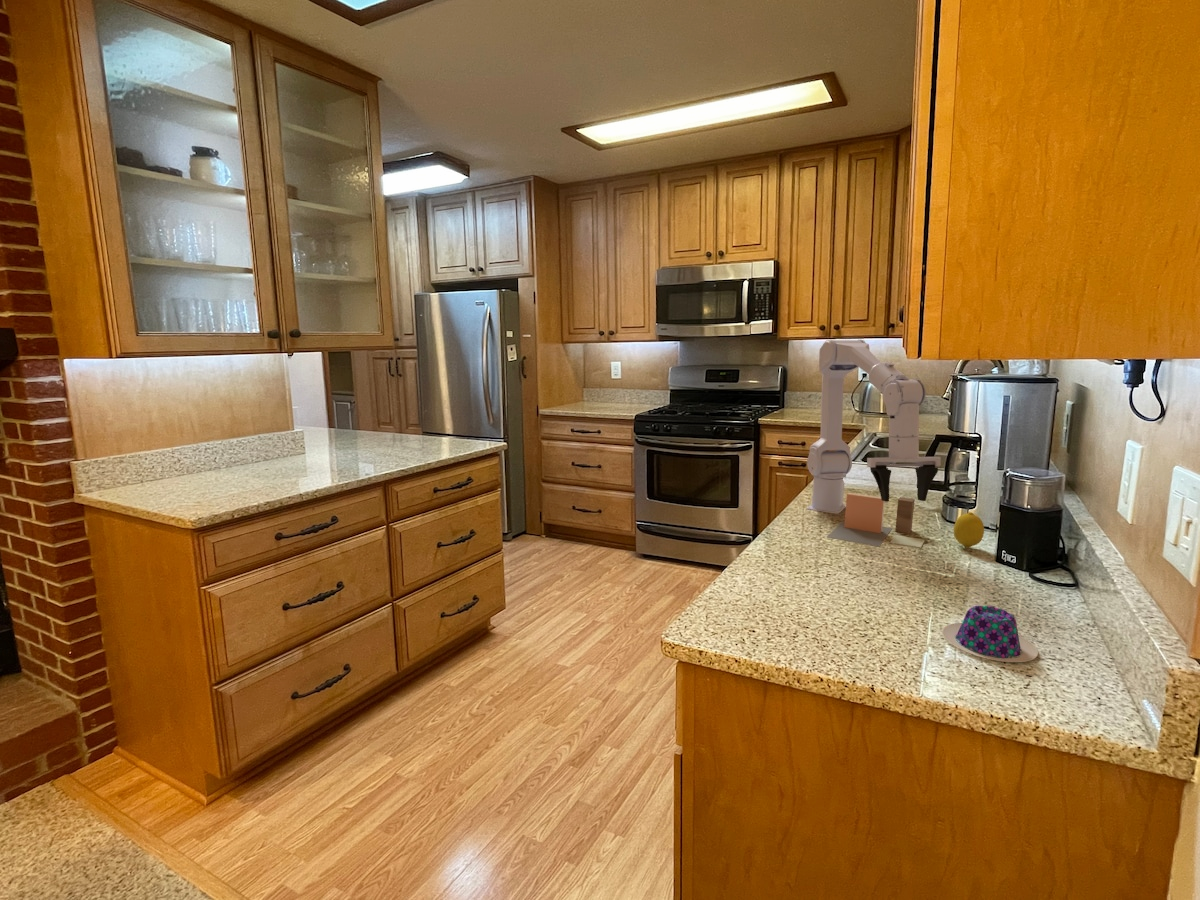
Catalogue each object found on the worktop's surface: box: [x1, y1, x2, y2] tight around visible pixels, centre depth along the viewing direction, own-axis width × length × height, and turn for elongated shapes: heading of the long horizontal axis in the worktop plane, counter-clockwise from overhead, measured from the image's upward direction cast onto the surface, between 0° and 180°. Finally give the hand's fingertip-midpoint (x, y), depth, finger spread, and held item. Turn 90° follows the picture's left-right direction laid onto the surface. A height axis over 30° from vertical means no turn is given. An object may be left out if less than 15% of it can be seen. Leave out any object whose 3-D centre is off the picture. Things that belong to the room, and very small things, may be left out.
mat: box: [826, 519, 893, 547], centre depth 142 cm, size 16×11×1 cm
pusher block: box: [894, 496, 916, 535], centre depth 142 cm, size 3×3×8 cm
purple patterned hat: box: [941, 604, 1039, 663], centre depth 90 cm, size 12×12×5 cm
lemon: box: [953, 511, 985, 549], centre depth 132 cm, size 6×6×8 cm
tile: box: [844, 492, 886, 533], centre depth 143 cm, size 2×8×8 cm, turn 56°
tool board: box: [890, 534, 926, 549], centre depth 135 cm, size 6×6×1 cm
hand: (903, 500), depth 131 cm, fingers open, 7 cm apart
